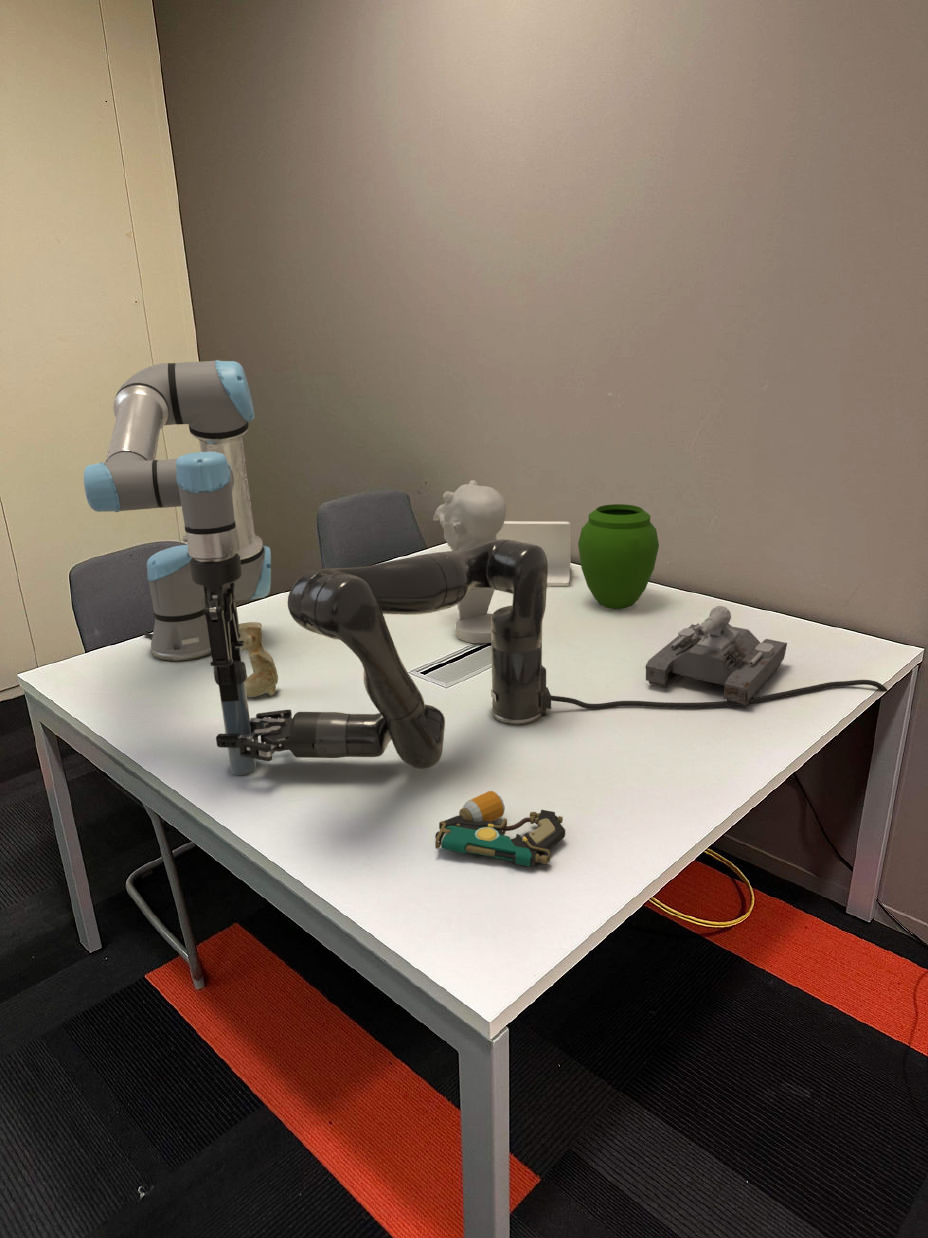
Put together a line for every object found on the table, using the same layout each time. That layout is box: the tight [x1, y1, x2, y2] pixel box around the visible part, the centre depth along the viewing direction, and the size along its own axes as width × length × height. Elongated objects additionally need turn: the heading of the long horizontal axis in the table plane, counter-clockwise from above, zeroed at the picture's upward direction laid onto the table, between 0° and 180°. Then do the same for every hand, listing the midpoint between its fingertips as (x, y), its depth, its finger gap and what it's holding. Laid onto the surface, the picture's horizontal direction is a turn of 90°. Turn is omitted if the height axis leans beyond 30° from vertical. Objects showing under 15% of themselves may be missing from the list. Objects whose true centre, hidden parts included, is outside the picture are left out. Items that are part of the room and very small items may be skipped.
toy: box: [645, 605, 788, 706], centre depth 170 cm, size 25×20×15 cm
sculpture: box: [239, 621, 279, 698], centre depth 169 cm, size 6×7×15 cm
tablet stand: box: [496, 520, 572, 587], centre depth 236 cm, size 18×25×17 cm
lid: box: [213, 660, 248, 686], centre depth 138 cm, size 5×5×2 cm
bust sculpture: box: [432, 479, 507, 644], centre depth 196 cm, size 16×24×35 cm, turn 28°
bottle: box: [218, 681, 257, 776], centre depth 141 cm, size 4×4×18 cm
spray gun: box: [434, 790, 566, 867], centre depth 122 cm, size 4×17×15 cm
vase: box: [577, 503, 660, 610], centre depth 210 cm, size 20×20×24 cm
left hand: (233, 692), depth 139 cm, fingers closed on lid, 5 cm apart
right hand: (222, 733), depth 142 cm, fingers closed on bottle, 4 cm apart
